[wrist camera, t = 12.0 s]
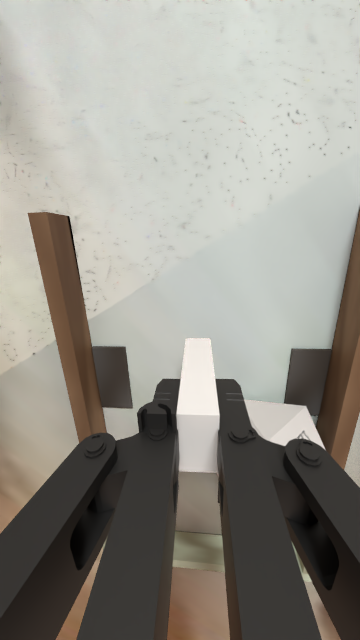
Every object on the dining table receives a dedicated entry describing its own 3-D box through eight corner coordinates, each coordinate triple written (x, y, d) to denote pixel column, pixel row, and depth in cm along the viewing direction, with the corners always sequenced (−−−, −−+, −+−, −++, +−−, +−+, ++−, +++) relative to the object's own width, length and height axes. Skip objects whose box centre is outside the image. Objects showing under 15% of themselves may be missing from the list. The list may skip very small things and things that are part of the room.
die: (298, 370, 16) (414, 537, 12) (267, 377, 24) (331, 477, 21) (187, 431, 15) (276, 618, 12) (195, 417, 24) (249, 524, 21)
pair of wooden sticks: (113, 532, 27) (105, 559, 25) (53, 217, 16) (27, 213, 14) (303, 549, 25) (313, 582, 23) (382, 201, 14) (418, 193, 12)
